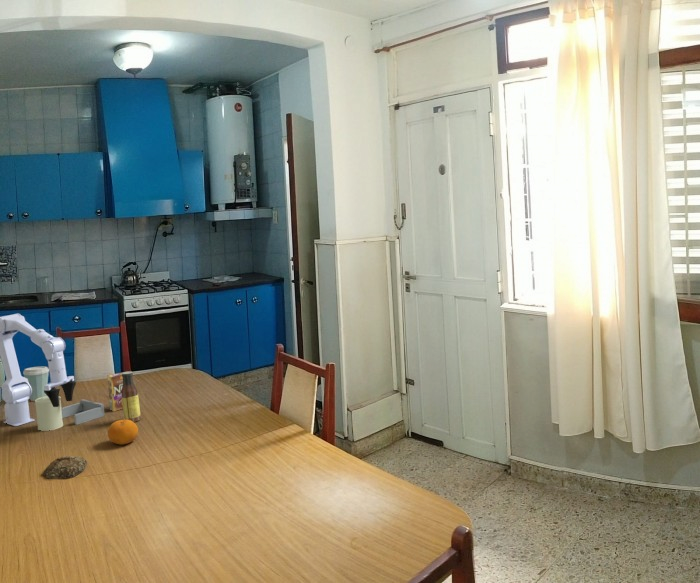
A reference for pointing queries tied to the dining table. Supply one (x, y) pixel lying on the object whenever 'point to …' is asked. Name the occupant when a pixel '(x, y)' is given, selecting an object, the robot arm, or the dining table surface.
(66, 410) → the box
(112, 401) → the candy box
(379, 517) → the dining table surface
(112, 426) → the fruit
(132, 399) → the sauce bottle
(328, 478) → the dining table surface
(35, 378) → the disposable coffee cup
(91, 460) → the dining table surface
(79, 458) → the rough brown rock
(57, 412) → the can
